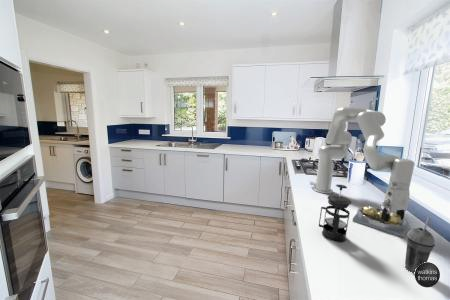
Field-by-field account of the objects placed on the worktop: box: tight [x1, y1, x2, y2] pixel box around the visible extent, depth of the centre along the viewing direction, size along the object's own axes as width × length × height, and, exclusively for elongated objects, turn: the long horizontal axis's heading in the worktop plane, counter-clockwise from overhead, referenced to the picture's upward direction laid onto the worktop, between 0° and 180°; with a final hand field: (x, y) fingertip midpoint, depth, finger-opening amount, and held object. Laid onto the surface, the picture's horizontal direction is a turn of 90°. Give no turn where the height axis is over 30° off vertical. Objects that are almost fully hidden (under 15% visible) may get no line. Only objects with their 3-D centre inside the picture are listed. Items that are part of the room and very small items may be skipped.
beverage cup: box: [404, 216, 436, 275], centre depth 73 cm, size 7×7×20 cm
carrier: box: [352, 205, 408, 239], centre depth 109 cm, size 20×20×7 cm
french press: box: [318, 184, 352, 243], centre depth 92 cm, size 12×9×23 cm
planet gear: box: [384, 211, 401, 225], centre depth 104 cm, size 6×6×5 cm
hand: (391, 219), depth 104 cm, fingers open, 9 cm apart
